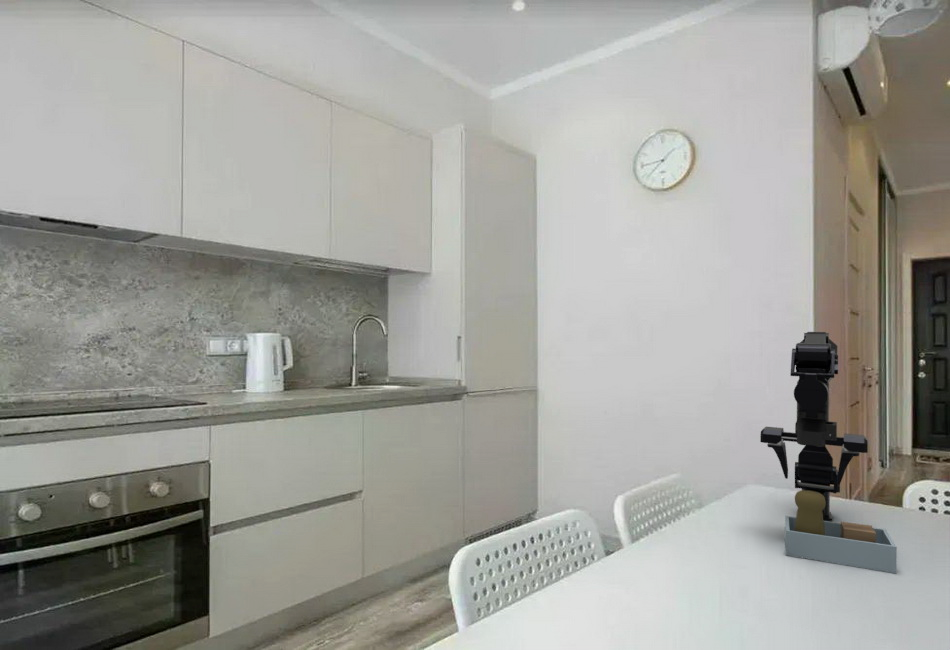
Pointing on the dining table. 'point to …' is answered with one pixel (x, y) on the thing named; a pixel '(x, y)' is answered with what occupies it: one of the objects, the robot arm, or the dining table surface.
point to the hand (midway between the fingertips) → (811, 481)
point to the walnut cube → (858, 532)
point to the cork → (810, 512)
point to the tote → (841, 547)
